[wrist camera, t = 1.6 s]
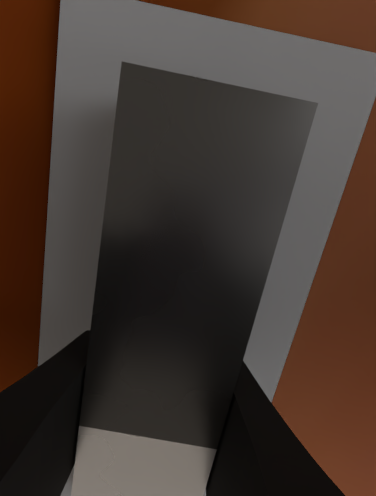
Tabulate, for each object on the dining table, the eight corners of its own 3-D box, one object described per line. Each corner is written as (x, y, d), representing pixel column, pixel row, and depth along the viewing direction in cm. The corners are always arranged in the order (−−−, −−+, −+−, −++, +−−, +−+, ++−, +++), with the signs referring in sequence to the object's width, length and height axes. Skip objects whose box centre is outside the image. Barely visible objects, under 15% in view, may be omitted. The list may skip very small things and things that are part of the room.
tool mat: (378, 61, 8) (388, 56, 8) (222, 530, 14) (223, 544, 13) (69, -7, 8) (61, -17, 7) (34, 499, 13) (28, 512, 13)
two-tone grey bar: (267, 121, 8) (318, 103, 5) (172, 500, 12) (162, 635, 9) (153, 97, 8) (121, 61, 5) (95, 487, 12) (56, 618, 9)
